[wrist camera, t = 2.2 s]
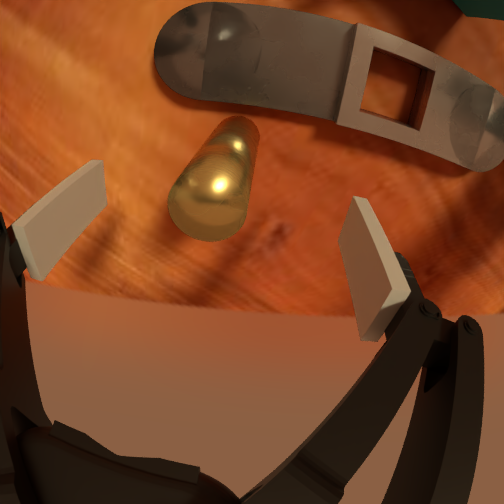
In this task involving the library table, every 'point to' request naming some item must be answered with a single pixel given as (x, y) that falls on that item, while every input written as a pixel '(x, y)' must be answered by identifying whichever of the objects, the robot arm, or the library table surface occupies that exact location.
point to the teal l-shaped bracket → (482, 8)
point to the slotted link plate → (327, 76)
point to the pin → (217, 182)
